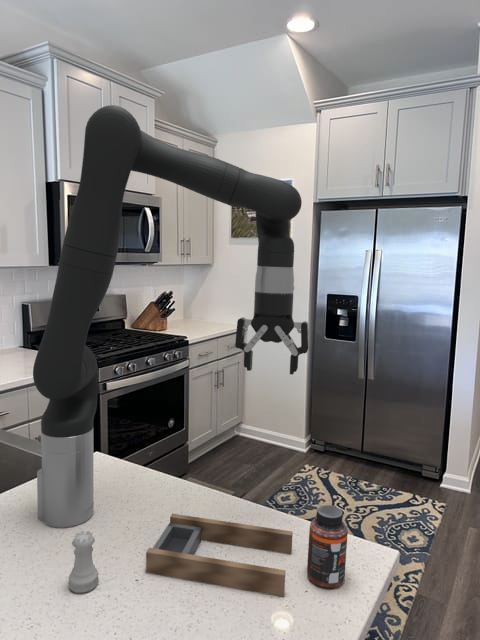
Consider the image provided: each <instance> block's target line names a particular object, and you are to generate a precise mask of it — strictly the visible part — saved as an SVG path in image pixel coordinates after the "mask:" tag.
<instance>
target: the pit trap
mask: <svg viewBox="0 0 480 640" xmlns="http://www.w3.org/2000/svg"><path fill="white" fill-rule="evenodd" d="M201 531H202V528H201V527H194V526H188V525H181V524H175V523H170V522H169V523H168V524H167V526H166V527H165V528H164V531H163V532H162V533H161V535H160V536H159V538H158V540H157V541H156V542H155V544H154V545H153V547H152V548H154V549H160V550H166V551H173V552H179V553H185V554H191V555H196V552H197V550H198V548H199V547H200V544H201V542H202V540H201Z"/></svg>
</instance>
